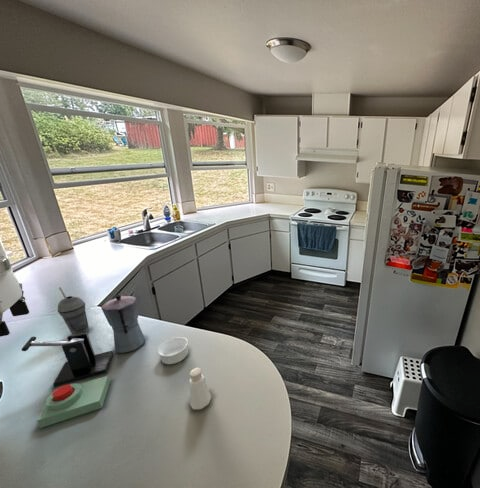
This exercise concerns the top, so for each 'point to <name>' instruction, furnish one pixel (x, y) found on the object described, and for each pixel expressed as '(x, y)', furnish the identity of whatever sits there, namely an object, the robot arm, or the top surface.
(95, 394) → the control block
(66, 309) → the beverage cup
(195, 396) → the pepper shaker
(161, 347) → the ramekin
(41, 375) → the top surface
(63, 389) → the stop button
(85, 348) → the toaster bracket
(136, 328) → the moka pot
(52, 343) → the lever
